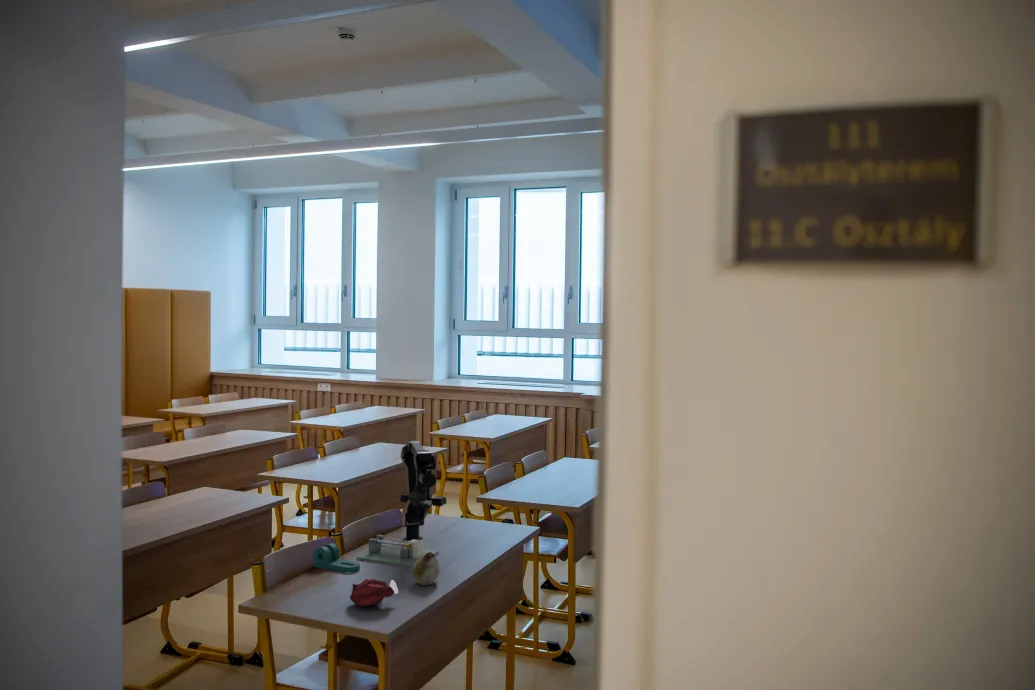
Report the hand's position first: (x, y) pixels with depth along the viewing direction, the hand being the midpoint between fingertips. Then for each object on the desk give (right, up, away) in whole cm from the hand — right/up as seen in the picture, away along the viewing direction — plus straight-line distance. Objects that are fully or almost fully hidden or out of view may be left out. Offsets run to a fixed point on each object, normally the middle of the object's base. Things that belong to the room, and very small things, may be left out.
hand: (422, 520), depth 299 cm
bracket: (-29, -13, -21) cm, 38 cm away
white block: (-2, -12, -9) cm, 15 cm away
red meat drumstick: (-9, -15, -58) cm, 60 cm away
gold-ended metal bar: (-11, -9, -5) cm, 15 cm away
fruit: (+5, -14, -36) cm, 39 cm away
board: (-9, -13, -6) cm, 17 cm away
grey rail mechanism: (-11, -12, -5) cm, 17 cm away
